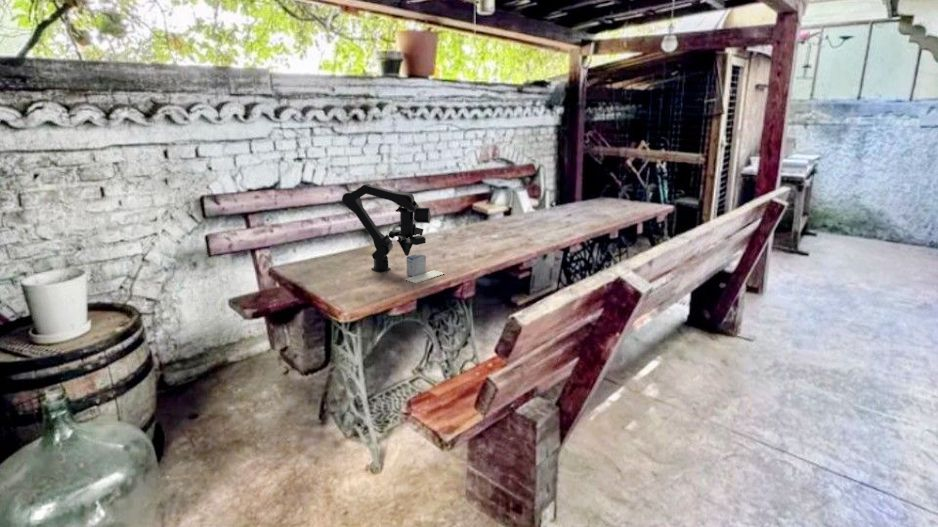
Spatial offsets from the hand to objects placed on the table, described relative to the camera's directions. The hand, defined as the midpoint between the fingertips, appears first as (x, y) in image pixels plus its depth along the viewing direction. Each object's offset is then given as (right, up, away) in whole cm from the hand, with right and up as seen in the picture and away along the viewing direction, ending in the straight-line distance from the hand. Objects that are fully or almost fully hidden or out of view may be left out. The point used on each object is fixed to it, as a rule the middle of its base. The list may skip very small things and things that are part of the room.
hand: (406, 255), depth 230 cm
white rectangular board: (+9, -10, -5) cm, 14 cm away
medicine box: (+4, -9, -2) cm, 10 cm away
